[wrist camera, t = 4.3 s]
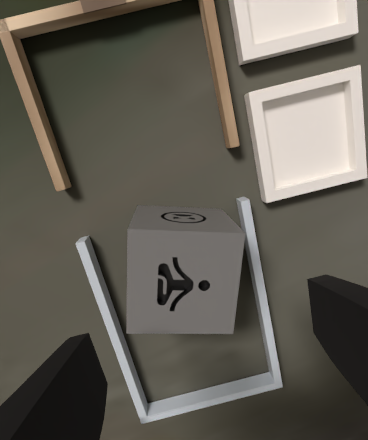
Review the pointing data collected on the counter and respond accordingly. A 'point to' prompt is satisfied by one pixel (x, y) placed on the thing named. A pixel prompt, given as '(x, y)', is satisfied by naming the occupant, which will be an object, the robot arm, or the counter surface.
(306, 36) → the dish
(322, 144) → the dish
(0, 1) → the counter surface
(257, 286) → the metal frame
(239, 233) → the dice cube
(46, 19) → the oak pen
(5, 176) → the counter surface
